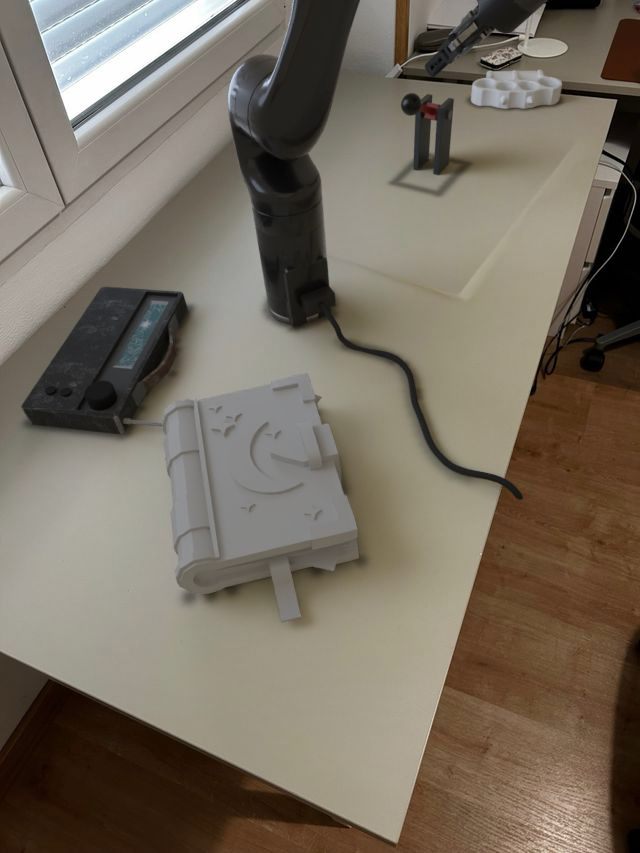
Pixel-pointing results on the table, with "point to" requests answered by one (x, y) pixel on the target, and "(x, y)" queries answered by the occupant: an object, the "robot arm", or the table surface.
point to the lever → (418, 106)
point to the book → (256, 490)
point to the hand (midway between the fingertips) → (430, 70)
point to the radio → (109, 361)
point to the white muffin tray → (516, 89)
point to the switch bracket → (441, 136)
